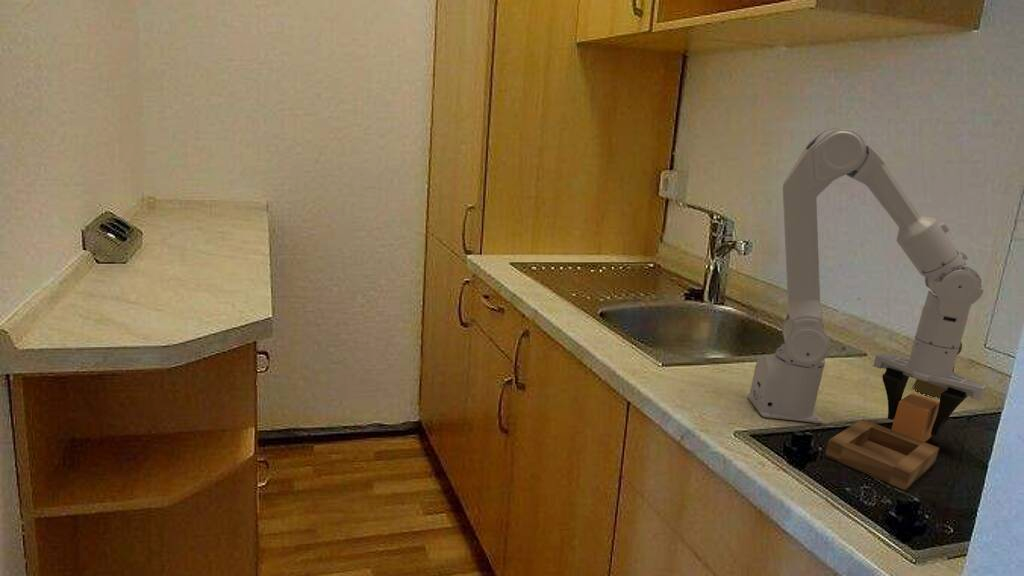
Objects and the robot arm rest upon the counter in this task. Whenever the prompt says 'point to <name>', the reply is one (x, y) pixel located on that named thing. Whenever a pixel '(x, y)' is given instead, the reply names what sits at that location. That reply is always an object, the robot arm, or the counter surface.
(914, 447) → the well
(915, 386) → the cork
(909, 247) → the robot arm
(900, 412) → the tall wooden block
